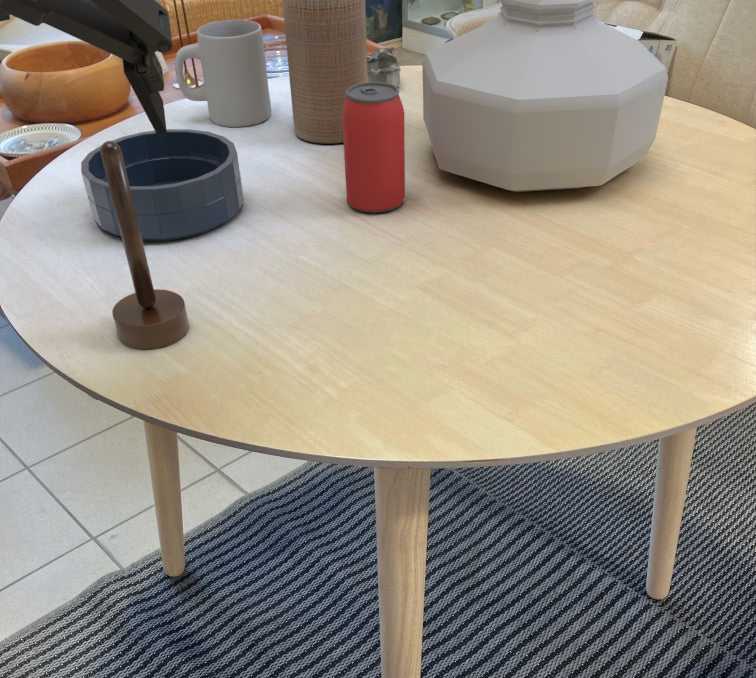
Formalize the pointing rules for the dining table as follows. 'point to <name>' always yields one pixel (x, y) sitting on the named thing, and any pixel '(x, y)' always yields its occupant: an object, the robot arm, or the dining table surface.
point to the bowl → (170, 183)
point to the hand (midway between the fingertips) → (70, 135)
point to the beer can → (374, 147)
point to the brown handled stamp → (140, 272)
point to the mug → (229, 72)
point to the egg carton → (383, 67)
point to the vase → (323, 63)
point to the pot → (542, 98)
